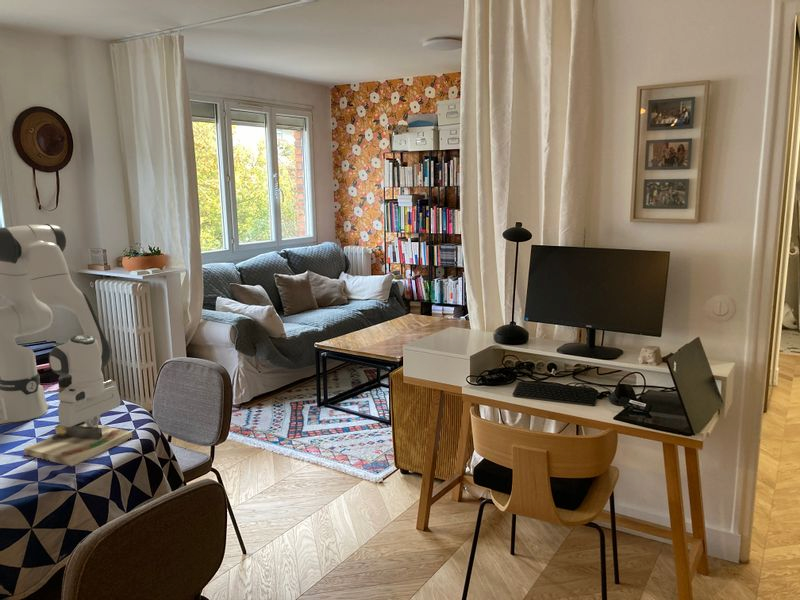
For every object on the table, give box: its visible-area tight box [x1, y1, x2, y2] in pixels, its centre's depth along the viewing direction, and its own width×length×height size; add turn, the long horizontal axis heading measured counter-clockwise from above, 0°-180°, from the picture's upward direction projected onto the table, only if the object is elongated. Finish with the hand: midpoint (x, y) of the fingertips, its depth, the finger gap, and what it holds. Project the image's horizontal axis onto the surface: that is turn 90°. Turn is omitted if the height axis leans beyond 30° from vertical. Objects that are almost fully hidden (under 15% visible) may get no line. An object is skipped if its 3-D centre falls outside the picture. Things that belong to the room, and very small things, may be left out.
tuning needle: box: [54, 423, 102, 439], centre depth 194 cm, size 15×4×3 cm, turn 79°
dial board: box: [23, 423, 133, 467], centre depth 193 cm, size 20×22×2 cm
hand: (93, 430), depth 195 cm, fingers closed
